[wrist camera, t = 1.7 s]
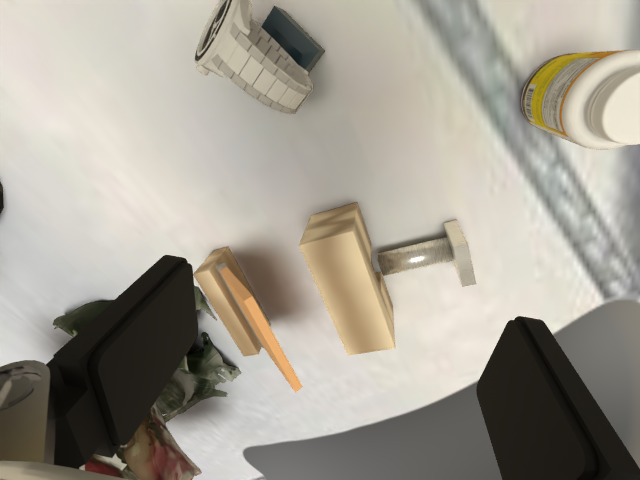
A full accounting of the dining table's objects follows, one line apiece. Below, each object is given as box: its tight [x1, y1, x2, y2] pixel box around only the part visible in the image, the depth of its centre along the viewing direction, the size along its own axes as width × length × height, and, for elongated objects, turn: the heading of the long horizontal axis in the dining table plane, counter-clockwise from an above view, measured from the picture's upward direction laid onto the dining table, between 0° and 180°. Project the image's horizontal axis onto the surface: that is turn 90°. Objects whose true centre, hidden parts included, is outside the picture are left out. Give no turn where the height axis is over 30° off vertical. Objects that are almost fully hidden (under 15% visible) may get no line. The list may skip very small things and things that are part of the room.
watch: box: [195, 0, 325, 114], centre depth 24 cm, size 6×8×11 cm
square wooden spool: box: [193, 202, 395, 356], centre depth 36 cm, size 18×14×6 cm
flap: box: [217, 263, 302, 392], centre depth 33 cm, size 10×11×1 cm
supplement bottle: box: [521, 50, 640, 150], centre depth 22 cm, size 6×6×10 cm
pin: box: [378, 220, 476, 287], centre depth 33 cm, size 8×4×5 cm, turn 111°
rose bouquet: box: [53, 286, 241, 480], centre depth 37 cm, size 26×29×30 cm
